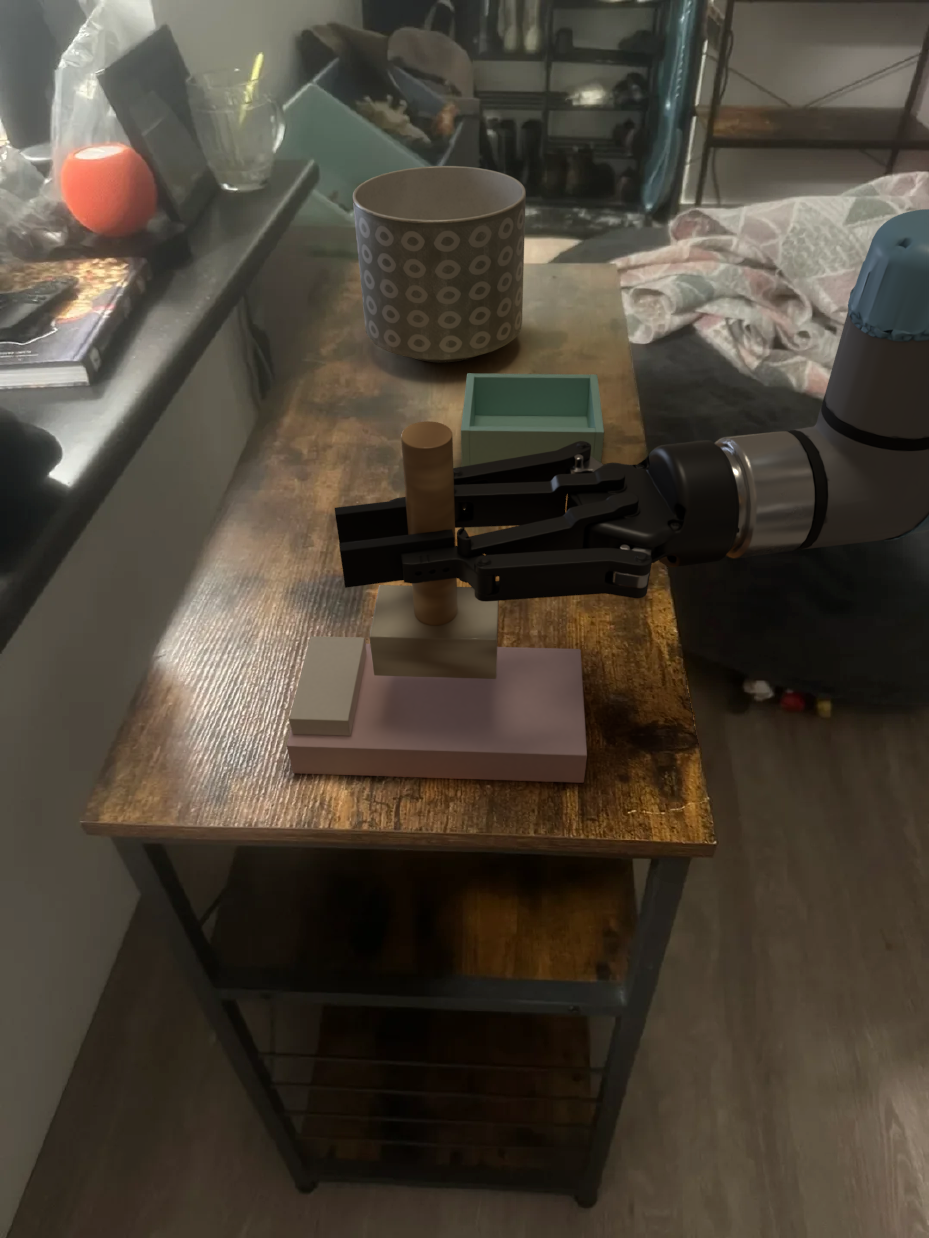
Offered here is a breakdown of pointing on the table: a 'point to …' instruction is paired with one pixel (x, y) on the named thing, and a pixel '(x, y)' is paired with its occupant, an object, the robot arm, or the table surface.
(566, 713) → the bed
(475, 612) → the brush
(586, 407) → the green open box
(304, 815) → the table surface
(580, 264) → the table surface
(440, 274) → the planter
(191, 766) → the table surface
